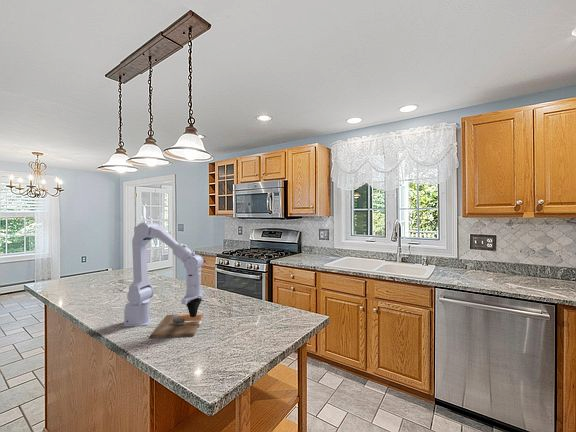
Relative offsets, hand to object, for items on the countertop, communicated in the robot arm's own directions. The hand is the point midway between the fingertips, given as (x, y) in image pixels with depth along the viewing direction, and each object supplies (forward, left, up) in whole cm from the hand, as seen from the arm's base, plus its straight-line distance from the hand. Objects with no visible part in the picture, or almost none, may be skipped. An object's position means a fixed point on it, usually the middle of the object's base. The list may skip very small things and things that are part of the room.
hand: (193, 316), depth 119 cm
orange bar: (-3, +2, -2) cm, 4 cm away
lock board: (-6, +2, -5) cm, 8 cm away
